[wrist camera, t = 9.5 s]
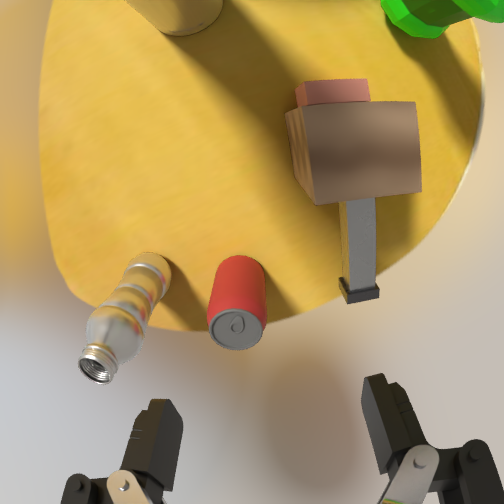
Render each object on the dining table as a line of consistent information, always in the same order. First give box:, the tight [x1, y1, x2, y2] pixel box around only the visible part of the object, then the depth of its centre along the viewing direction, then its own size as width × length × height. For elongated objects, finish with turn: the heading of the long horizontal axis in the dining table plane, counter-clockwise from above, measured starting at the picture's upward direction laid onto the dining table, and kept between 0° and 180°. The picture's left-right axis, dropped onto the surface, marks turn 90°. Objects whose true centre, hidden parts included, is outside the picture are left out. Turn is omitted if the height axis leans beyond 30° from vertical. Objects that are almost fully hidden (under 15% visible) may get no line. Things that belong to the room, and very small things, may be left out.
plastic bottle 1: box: [78, 252, 172, 384], centre depth 31 cm, size 6×7×20 cm
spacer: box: [295, 79, 371, 107], centre depth 27 cm, size 2×7×7 cm, turn 100°
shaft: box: [338, 198, 380, 304], centre depth 28 cm, size 18×4×4 cm, turn 10°
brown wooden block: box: [284, 101, 422, 205], centre depth 27 cm, size 8×10×13 cm
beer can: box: [207, 255, 267, 350], centre depth 35 cm, size 7×7×12 cm
